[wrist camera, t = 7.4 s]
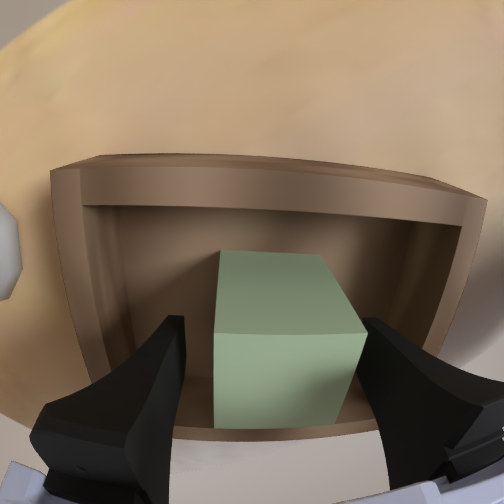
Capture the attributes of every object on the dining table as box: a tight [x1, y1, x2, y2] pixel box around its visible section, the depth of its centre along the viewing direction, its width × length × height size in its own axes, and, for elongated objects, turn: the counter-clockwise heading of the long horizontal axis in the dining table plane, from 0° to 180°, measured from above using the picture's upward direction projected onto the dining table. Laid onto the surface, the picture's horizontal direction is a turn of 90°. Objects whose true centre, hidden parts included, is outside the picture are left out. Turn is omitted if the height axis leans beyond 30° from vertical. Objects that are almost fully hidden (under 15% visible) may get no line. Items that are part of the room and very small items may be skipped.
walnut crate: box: [50, 153, 488, 442], centre depth 14 cm, size 16×13×4 cm
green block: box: [214, 250, 368, 429], centre depth 12 cm, size 4×4×6 cm
